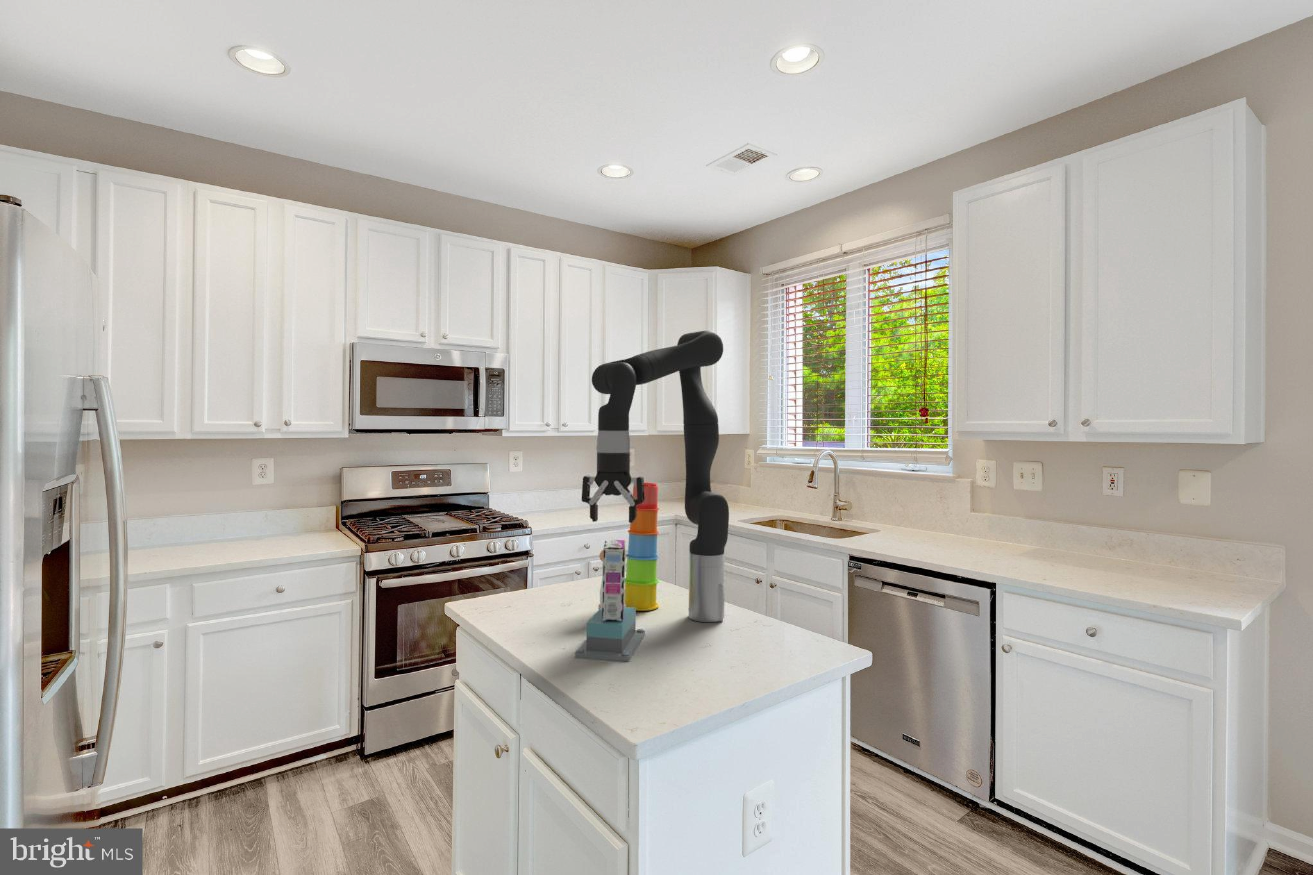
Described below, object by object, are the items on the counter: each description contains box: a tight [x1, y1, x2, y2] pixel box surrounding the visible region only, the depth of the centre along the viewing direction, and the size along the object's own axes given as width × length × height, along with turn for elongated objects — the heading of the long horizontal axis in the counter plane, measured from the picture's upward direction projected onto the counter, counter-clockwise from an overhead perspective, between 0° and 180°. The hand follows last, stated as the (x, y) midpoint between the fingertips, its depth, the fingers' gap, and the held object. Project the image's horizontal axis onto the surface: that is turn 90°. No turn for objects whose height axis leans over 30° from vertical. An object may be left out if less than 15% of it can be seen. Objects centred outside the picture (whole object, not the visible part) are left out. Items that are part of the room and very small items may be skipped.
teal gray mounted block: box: [574, 607, 646, 662], centre depth 143 cm, size 12×18×7 cm, turn 170°
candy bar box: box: [602, 539, 626, 622], centre depth 143 cm, size 11×5×16 cm, turn 3°
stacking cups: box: [625, 482, 660, 612], centre depth 175 cm, size 10×10×35 cm
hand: (612, 521), depth 143 cm, fingers open, 8 cm apart
